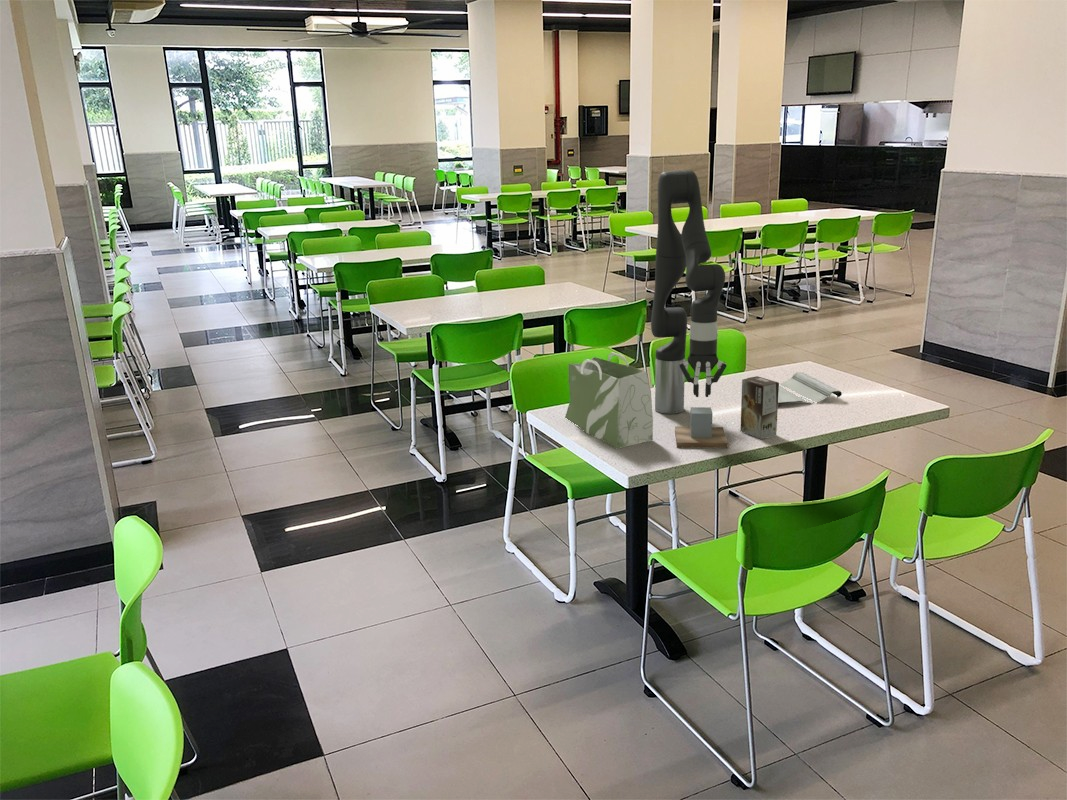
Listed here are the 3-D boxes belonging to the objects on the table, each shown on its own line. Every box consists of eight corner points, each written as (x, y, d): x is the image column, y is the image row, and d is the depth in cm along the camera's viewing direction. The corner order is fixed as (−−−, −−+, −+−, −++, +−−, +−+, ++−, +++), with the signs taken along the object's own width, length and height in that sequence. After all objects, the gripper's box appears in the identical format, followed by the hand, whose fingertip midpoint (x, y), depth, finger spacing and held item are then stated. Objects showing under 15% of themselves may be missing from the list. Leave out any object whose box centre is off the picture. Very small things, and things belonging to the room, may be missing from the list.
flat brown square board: (674, 431, 244) (675, 407, 242) (722, 431, 242) (723, 407, 240) (676, 447, 231) (677, 422, 229) (727, 448, 229) (728, 422, 227)
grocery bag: (561, 419, 259) (559, 347, 252) (598, 412, 264) (598, 342, 258) (614, 449, 231) (614, 370, 224) (655, 440, 237) (656, 363, 230)
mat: (742, 390, 285) (743, 377, 283) (804, 384, 289) (804, 371, 288) (775, 409, 263) (776, 395, 261) (841, 403, 268) (842, 389, 266)
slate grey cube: (689, 431, 239) (690, 407, 237) (710, 431, 238) (710, 407, 236) (690, 437, 234) (691, 413, 232) (711, 438, 233) (712, 413, 231)
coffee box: (777, 435, 238) (780, 382, 233) (761, 439, 235) (764, 386, 230) (754, 427, 245) (757, 375, 241) (738, 431, 242) (741, 378, 238)
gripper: (727, 333, 230) (725, 392, 235) (677, 333, 232) (676, 392, 237) (730, 339, 223) (727, 400, 228) (678, 339, 225) (677, 400, 230)
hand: (701, 396), depth 233 cm, fingers closed
